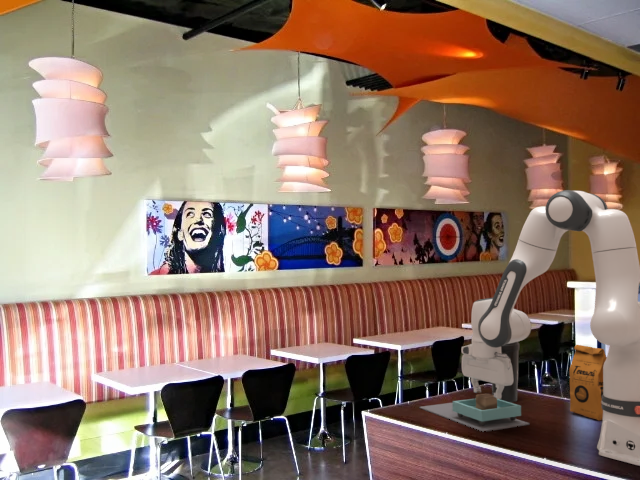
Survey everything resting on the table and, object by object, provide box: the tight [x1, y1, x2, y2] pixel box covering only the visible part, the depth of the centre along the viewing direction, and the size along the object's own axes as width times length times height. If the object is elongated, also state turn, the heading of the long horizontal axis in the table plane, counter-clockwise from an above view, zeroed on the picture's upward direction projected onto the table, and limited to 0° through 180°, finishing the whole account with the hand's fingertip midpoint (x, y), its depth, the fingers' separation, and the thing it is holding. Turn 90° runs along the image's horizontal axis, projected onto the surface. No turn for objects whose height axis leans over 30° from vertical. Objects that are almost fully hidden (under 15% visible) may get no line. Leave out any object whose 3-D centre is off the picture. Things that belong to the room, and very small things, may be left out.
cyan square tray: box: [452, 397, 522, 425], centre depth 204 cm, size 14×15×5 cm
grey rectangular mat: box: [419, 402, 530, 433], centre depth 211 cm, size 32×18×1 cm, turn 26°
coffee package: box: [569, 344, 607, 421], centre depth 210 cm, size 10×12×22 cm
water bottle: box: [491, 341, 521, 403], centre depth 233 cm, size 10×10×23 cm
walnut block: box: [475, 392, 497, 410], centre depth 204 cm, size 4×4×4 cm
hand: (487, 395), depth 204 cm, fingers open, 8 cm apart
